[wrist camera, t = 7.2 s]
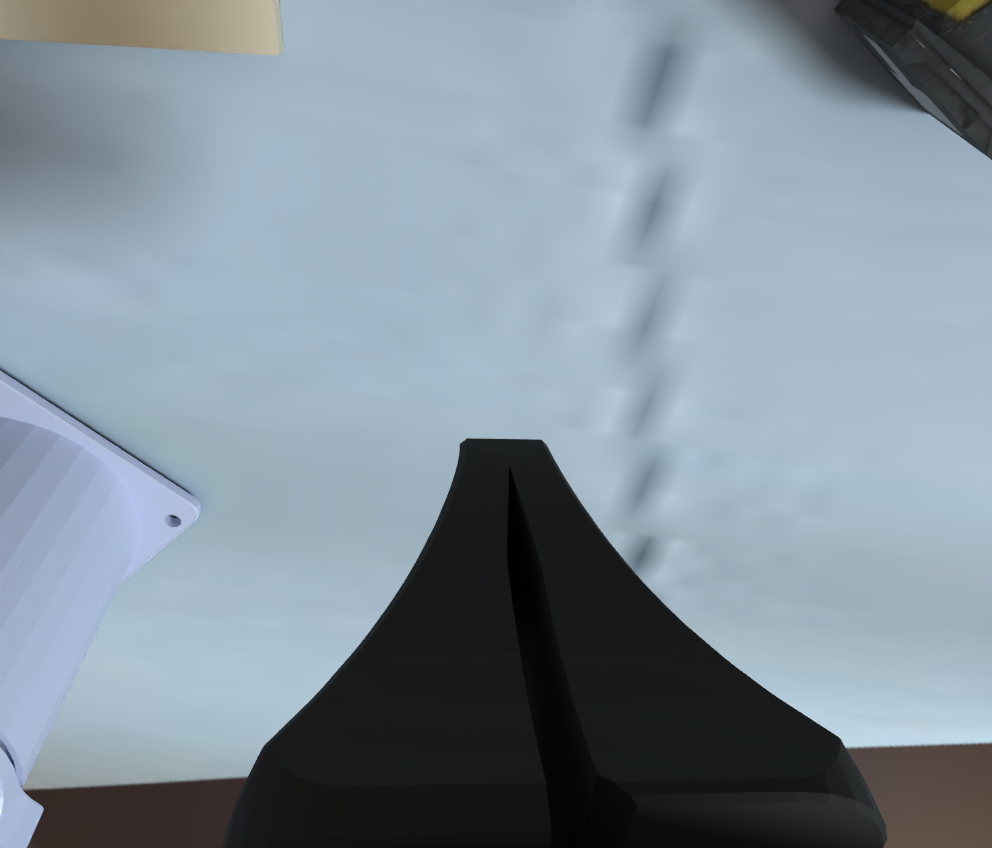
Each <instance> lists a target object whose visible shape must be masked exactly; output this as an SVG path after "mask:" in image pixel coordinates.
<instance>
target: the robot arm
mask: <svg viewBox="0 0 992 848" xmlns="http://www.w3.org/2000/svg"><path fill="white" fill-rule="evenodd" d="M200 511H201V504H200V502H199V501H198V500H197V499H196V498H195V497H193V496H192V495H190V494H189V493H187V492H186V491H184V490H183V489H181V488H180V487H178V486H176V485H175V484H173V483H172V482H170V481H169V480H167V479H166V478H164V477H163V476H161V475H160V474H158V473H157V472H155V471H153V470H152V469H150V468H149V467H147V466H146V465H144V464H143V463H141V462H140V461H138V460H137V459H135V458H134V457H132V456H130V455H129V454H127V453H126V452H124V451H123V450H121V449H120V448H118V447H117V446H115V445H114V444H112V443H111V442H109V441H107V440H106V439H104V438H103V437H101V436H100V435H98V434H97V433H95V432H94V431H92V430H91V429H89V428H88V427H86V426H85V425H83V424H81V423H80V422H78V421H77V420H75V419H74V418H72V417H71V416H69V415H68V414H66V413H65V412H63V411H62V410H60V409H58V408H57V407H55V406H54V405H52V404H51V403H49V402H48V401H46V400H45V399H43V398H42V397H40V396H39V395H37V394H35V393H34V392H32V391H31V390H29V389H28V388H26V387H25V386H23V385H22V384H20V383H19V382H17V381H16V380H14V379H12V378H11V377H9V376H8V375H6V374H5V373H3V372H2V371H0V848H27V846H28V844H29V842H30V839H31V837H32V835H33V833H34V830H35V828H36V826H37V823H38V821H39V819H40V817H41V814H42V812H43V807H42V806H41V805H40V804H38V803H37V802H35V801H34V800H32V799H31V798H30V797H28V795H27V794H25V793H24V791H23V790H22V787H23V785H24V783H25V781H26V779H27V777H28V774H29V772H30V770H31V768H32V766H33V764H34V762H35V760H36V758H37V756H38V753H39V751H40V749H41V747H42V745H43V743H44V741H45V739H46V737H47V735H48V733H49V730H50V728H51V726H52V724H53V722H54V720H55V718H56V716H57V714H58V712H59V709H60V707H61V705H62V703H63V701H64V699H65V697H66V695H67V693H68V691H69V688H70V686H71V684H72V682H73V680H74V678H75V676H76V674H77V672H78V670H79V667H80V665H81V663H82V661H83V659H84V657H85V655H86V653H87V651H88V649H89V647H90V644H91V642H92V640H93V638H94V636H95V634H96V632H97V630H98V628H99V626H100V623H101V621H102V619H103V617H104V615H105V613H106V611H107V609H108V607H109V605H110V602H111V600H112V598H113V596H114V594H115V592H116V590H117V588H118V586H119V585H120V584H121V583H122V582H123V581H125V580H126V579H127V578H128V577H129V576H130V575H132V574H133V573H134V572H135V571H136V570H138V569H139V568H140V567H141V566H142V565H143V564H145V563H146V562H147V561H148V560H149V559H151V558H152V557H153V556H154V555H155V554H156V553H158V552H159V551H160V550H161V549H162V548H164V547H165V546H166V545H167V544H168V543H169V542H171V541H172V540H173V539H174V538H175V537H177V536H178V535H179V534H180V533H181V532H182V531H184V530H185V529H186V528H187V527H188V526H190V525H191V524H192V523H193V522H194V521H195V520H196V519H197V518H198V516H199V514H200ZM170 515H175V516H177V517H179V518H180V519H175V518H173V517H171V516H170ZM886 840H887V835H886V824H885V822H884V820H883V818H882V816H881V814H880V811H879V809H878V807H877V805H876V803H875V801H874V798H873V797H872V794H871V792H870V790H869V788H868V787H867V784H866V782H865V780H864V779H863V777H862V775H861V773H860V771H859V769H858V768H857V766H856V765H855V763H854V761H853V760H852V758H851V756H850V755H849V753H848V752H847V750H846V748H845V746H844V745H843V743H842V741H841V739H840V738H839V737H838V736H836V735H834V734H833V733H831V732H830V731H828V730H827V729H825V728H824V727H822V726H821V725H819V724H817V723H816V722H814V721H813V720H811V719H810V718H808V717H807V716H805V715H804V714H802V713H801V712H799V711H797V710H796V709H794V708H793V707H791V706H790V705H788V704H787V703H785V702H784V701H782V700H781V699H779V698H777V697H776V696H775V695H773V694H772V693H770V692H769V691H767V690H766V689H765V688H763V687H762V686H761V685H759V684H758V683H757V682H755V681H754V680H753V679H751V678H750V677H749V676H747V675H746V674H745V673H743V672H742V671H741V670H739V669H738V668H736V667H735V666H734V665H733V664H731V663H730V662H729V661H728V660H726V659H725V658H724V657H723V656H721V655H720V654H719V653H718V652H717V651H716V650H714V649H713V648H712V647H711V646H710V645H709V644H707V643H706V642H705V641H704V640H703V639H702V638H700V637H699V636H698V635H697V634H696V633H695V632H693V631H692V630H691V629H690V628H689V627H688V626H686V625H685V624H684V623H683V622H682V621H681V620H680V619H679V618H678V617H677V616H676V615H675V614H674V613H673V612H672V611H671V610H670V609H669V608H668V607H666V606H665V605H664V604H663V603H662V601H661V600H660V599H659V598H658V597H657V596H656V595H655V594H654V593H653V592H652V591H651V590H650V589H649V588H648V587H647V586H646V585H645V584H644V583H643V581H642V580H641V579H640V578H639V577H638V576H637V575H636V574H635V573H634V571H633V570H632V569H631V568H630V567H629V566H628V564H627V563H626V562H625V561H624V560H623V558H622V557H621V556H620V555H619V553H618V552H617V551H616V550H615V548H614V547H613V546H612V545H611V544H610V542H609V541H608V540H607V538H606V537H605V536H604V534H603V533H602V532H601V530H600V529H599V528H598V526H597V525H596V524H595V522H594V521H593V519H592V518H591V516H590V515H589V514H588V512H587V511H586V509H585V508H584V507H583V505H582V504H581V502H580V501H579V499H578V498H577V496H576V495H575V493H574V492H573V490H572V488H571V487H570V485H569V484H568V482H567V481H566V479H565V477H564V476H563V474H562V472H561V471H560V469H559V467H558V465H557V464H556V462H555V460H554V458H553V456H552V455H551V453H550V451H549V449H548V447H547V445H546V444H545V443H544V442H543V441H542V440H528V439H469V438H467V439H466V440H465V441H463V442H462V443H461V444H460V453H459V459H458V464H457V468H456V472H455V475H454V478H453V481H452V484H451V487H450V490H449V493H448V495H447V498H446V500H445V503H444V505H443V508H442V510H441V512H440V515H439V517H438V520H437V522H436V524H435V526H434V528H433V530H432V532H431V534H430V536H429V538H428V540H427V542H426V544H425V546H424V548H423V550H422V552H421V553H420V555H419V557H418V559H417V561H416V563H415V564H414V566H413V568H412V570H411V571H410V573H409V575H408V576H407V578H406V580H405V581H404V583H403V584H402V586H401V588H400V589H399V591H398V592H397V594H396V595H395V597H394V598H393V600H392V601H391V603H390V604H389V606H388V607H387V609H386V610H385V611H384V613H383V614H382V615H381V617H380V618H379V620H378V621H377V622H376V624H375V625H374V627H373V628H372V629H371V631H370V632H369V633H368V635H367V636H366V637H365V638H364V640H363V641H362V642H361V644H360V645H359V646H358V647H357V649H356V650H355V651H354V652H353V653H352V654H351V656H350V657H349V658H348V659H347V660H346V661H345V662H344V664H343V665H342V666H341V667H340V668H339V669H338V671H337V672H336V673H335V674H334V675H333V676H332V677H331V679H330V680H329V681H328V682H327V683H326V684H325V685H324V687H323V688H322V689H321V690H320V691H319V692H318V693H317V694H316V695H315V696H314V697H313V698H312V699H311V700H310V701H309V702H308V703H307V704H306V705H305V706H304V707H303V708H302V709H301V710H300V711H299V712H298V713H297V714H296V715H295V716H294V717H293V718H292V719H291V720H290V721H289V722H288V723H287V724H286V725H285V726H284V727H283V728H282V729H281V730H280V731H279V732H278V733H277V734H276V735H275V736H274V737H273V738H272V739H270V740H269V741H268V742H267V743H266V744H265V745H264V747H263V749H262V750H261V752H260V754H259V756H258V758H257V760H256V762H255V764H254V766H253V768H252V770H251V772H250V774H249V776H248V778H247V780H246V782H245V784H244V787H243V789H242V791H241V793H240V795H239V798H238V800H237V802H236V805H235V808H234V810H233V813H232V815H231V818H230V821H229V824H228V826H227V829H226V832H225V835H224V838H223V842H222V846H221V848H883V847H884V845H885V842H886Z"/></svg>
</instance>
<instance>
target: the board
mask: <svg viewBox="0 0 992 848" xmlns="http://www.w3.org/2000/svg"><path fill="white" fill-rule="evenodd" d="M0 39H11V40H28V41H45V42H61V43H78V44H95V45H111V46H128V47H145V48H162V49H178V50H195V51H212V52H228V53H245V54H262V55H279V54H280V53H281V52H283V43H282V31H281V20H280V9H279V0H0Z"/></svg>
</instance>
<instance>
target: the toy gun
mask: <svg viewBox="0 0 992 848" xmlns="http://www.w3.org/2000/svg"><path fill="white" fill-rule="evenodd" d="M834 11H835V12H836V13H837V14H838V16H839V17H840V18H841V19H842V20H843V21H844V23H845V24H846V25H847V26H848V27H849V28H850V30H851V31H852V32H853V33H854V34H855V35H856V36H857V37H858V38H859V40H860V41H861V42H862V43H863V44H864V45H865V46H866V47H867V49H868V50H869V51H870V52H871V53H872V54H873V55H874V56H875V57H876V59H877V60H878V61H879V62H880V63H881V64H882V65H883V66H884V68H885V69H886V70H887V71H888V72H889V73H890V74H891V75H892V76H893V77H894V78H895V79H896V80H897V81H898V83H899V84H900V85H901V86H902V87H903V88H904V89H905V90H906V91H907V92H908V93H909V94H910V95H911V96H912V97H913V98H914V99H915V100H916V101H917V102H918V103H919V104H920V105H921V106H922V107H923V108H924V109H925V110H926V111H927V112H928V113H929V114H930V115H931V116H933V117H934V118H936V119H937V120H938V121H940V122H941V123H942V124H944V125H945V126H946V127H948V128H949V129H951V130H952V131H953V132H955V133H956V134H957V135H959V136H960V137H961V138H963V139H964V140H966V141H967V142H968V143H970V144H971V145H972V146H974V147H975V148H976V149H978V150H979V151H981V152H982V153H983V154H985V155H986V156H987V157H989V158H990V159H991V160H992V0H842V2H841V3H840V4H839V5H838V6H837V7H836V8H835V9H834Z"/></svg>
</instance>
